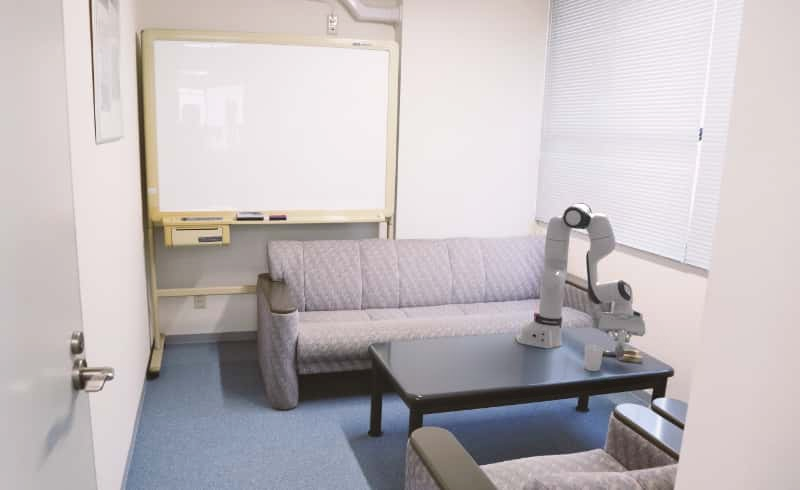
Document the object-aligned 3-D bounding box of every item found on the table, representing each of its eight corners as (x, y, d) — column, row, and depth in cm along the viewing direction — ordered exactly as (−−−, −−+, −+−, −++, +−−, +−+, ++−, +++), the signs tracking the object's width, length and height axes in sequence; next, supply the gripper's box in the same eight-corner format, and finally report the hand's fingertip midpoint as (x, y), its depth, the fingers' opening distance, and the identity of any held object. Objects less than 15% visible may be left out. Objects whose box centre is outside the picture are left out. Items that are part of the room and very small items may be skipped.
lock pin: (598, 348, 290) (598, 353, 291) (599, 351, 288) (598, 355, 289) (616, 351, 288) (615, 355, 289) (616, 353, 286) (616, 358, 287)
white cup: (602, 372, 267) (604, 351, 265) (583, 370, 268) (585, 349, 266) (600, 366, 274) (602, 345, 272) (582, 364, 276) (584, 343, 274)
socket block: (619, 360, 283) (619, 354, 283) (617, 352, 293) (617, 347, 292) (641, 362, 281) (642, 357, 281) (639, 355, 290) (639, 350, 290)
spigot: (614, 355, 278) (618, 330, 275) (614, 352, 282) (617, 328, 279) (624, 357, 277) (627, 332, 274) (623, 354, 281) (627, 329, 278)
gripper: (600, 308, 284) (598, 334, 277) (646, 314, 280) (646, 341, 272) (598, 314, 290) (596, 340, 282) (643, 321, 285) (643, 347, 277)
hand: (621, 341), depth 277 cm, fingers closed on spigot, 4 cm apart
